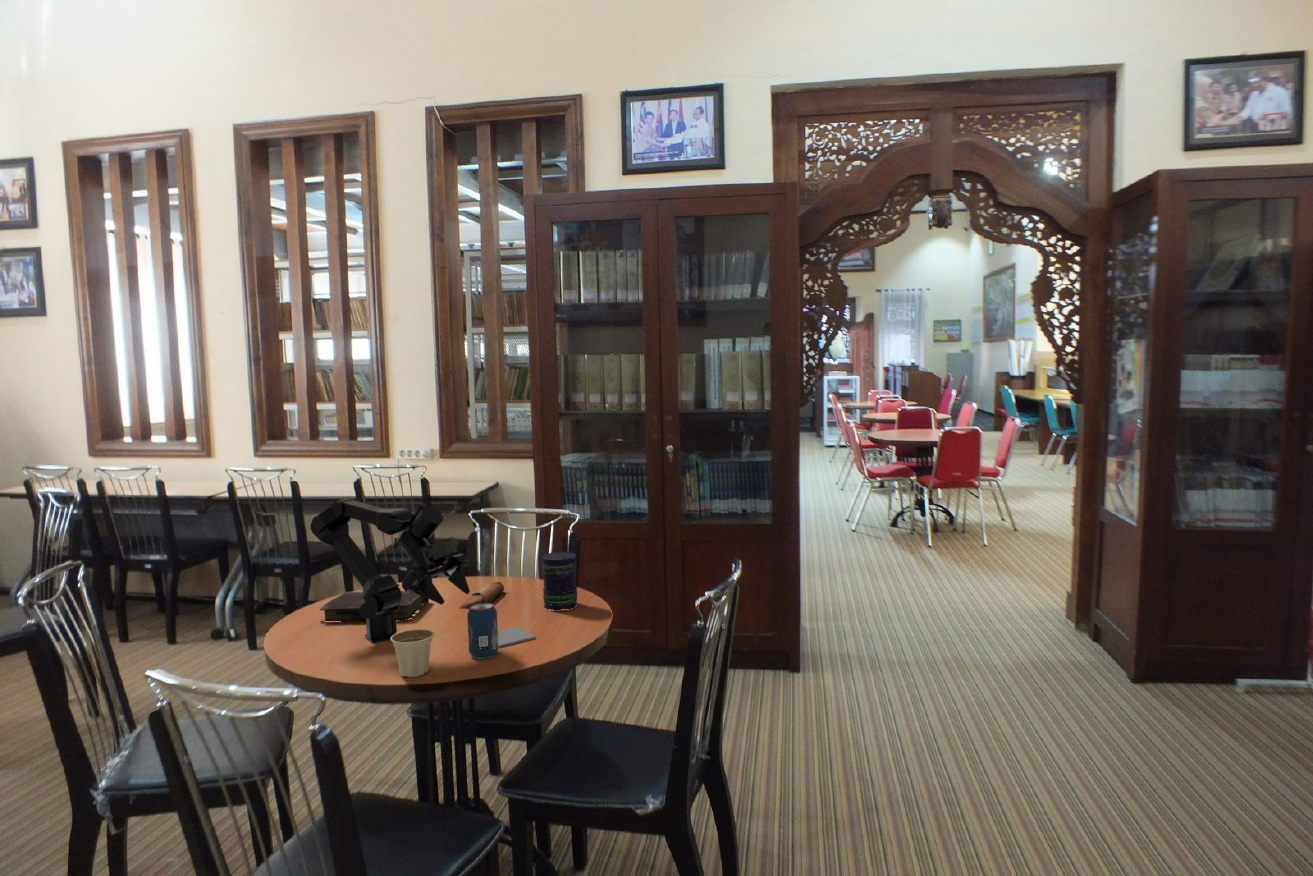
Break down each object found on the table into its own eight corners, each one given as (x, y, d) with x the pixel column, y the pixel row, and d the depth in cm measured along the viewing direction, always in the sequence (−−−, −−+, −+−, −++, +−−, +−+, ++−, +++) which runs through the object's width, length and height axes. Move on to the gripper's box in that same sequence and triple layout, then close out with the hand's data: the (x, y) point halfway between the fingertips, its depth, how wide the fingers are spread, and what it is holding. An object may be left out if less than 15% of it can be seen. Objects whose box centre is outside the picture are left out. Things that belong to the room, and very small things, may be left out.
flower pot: (420, 662, 180) (418, 626, 180) (444, 670, 174) (442, 633, 174) (384, 674, 173) (382, 637, 172) (407, 684, 167) (405, 645, 166)
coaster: (499, 647, 188) (499, 645, 188) (482, 637, 196) (482, 635, 196) (535, 638, 194) (535, 636, 194) (517, 628, 202) (517, 626, 202)
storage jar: (537, 606, 222) (535, 555, 221) (565, 599, 229) (563, 550, 228) (555, 613, 215) (553, 561, 214) (584, 606, 221) (582, 555, 220)
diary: (346, 607, 230) (345, 590, 230) (429, 604, 230) (428, 588, 229) (319, 626, 211) (318, 608, 211) (409, 623, 211) (408, 605, 211)
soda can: (469, 651, 186) (467, 603, 186) (498, 648, 188) (496, 600, 187) (469, 661, 180) (466, 611, 179) (499, 658, 181) (496, 608, 180)
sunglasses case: (478, 591, 240) (487, 573, 239) (497, 602, 239) (507, 584, 238) (457, 609, 222) (468, 589, 221) (478, 621, 221) (489, 601, 221)
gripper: (408, 536, 179) (447, 587, 175) (461, 522, 196) (497, 568, 192) (384, 567, 183) (422, 617, 179) (438, 550, 200) (474, 596, 196)
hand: (456, 598), depth 186 cm, fingers open, 9 cm apart
